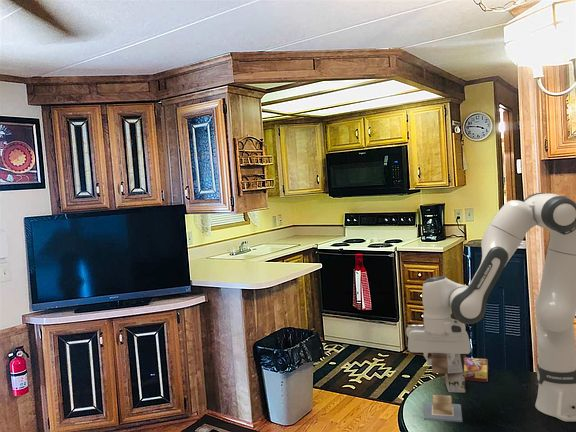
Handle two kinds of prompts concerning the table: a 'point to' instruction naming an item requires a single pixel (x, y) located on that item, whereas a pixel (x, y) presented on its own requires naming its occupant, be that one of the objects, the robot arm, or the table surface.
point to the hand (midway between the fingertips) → (439, 365)
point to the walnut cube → (439, 363)
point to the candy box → (476, 369)
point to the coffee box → (455, 374)
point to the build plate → (454, 417)
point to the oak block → (442, 404)
